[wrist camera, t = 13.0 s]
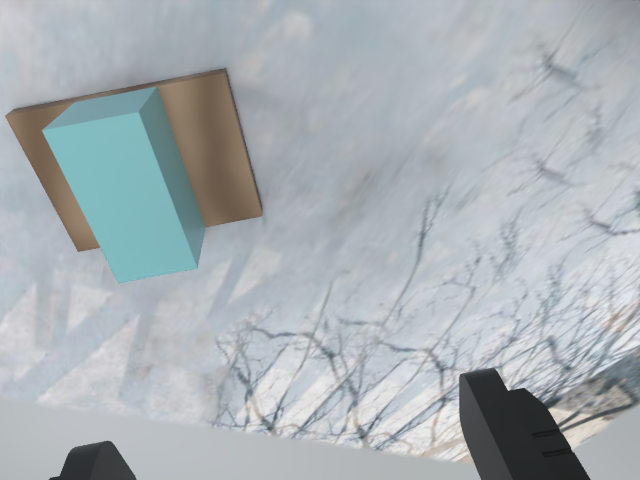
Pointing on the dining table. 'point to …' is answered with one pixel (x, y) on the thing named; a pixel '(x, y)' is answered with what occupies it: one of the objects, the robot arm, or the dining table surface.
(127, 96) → the teal rectangular block
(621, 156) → the dining table surface
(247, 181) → the base plate
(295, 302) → the dining table surface
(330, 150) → the dining table surface
